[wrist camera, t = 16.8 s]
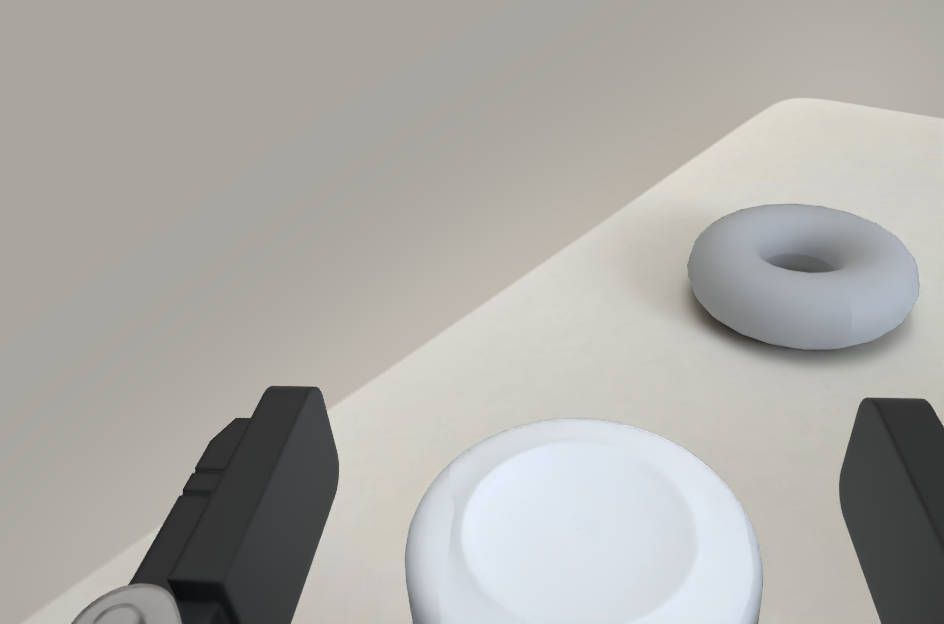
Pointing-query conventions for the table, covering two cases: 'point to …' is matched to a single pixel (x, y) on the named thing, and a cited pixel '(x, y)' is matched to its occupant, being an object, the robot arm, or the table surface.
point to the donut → (803, 276)
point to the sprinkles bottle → (581, 533)
